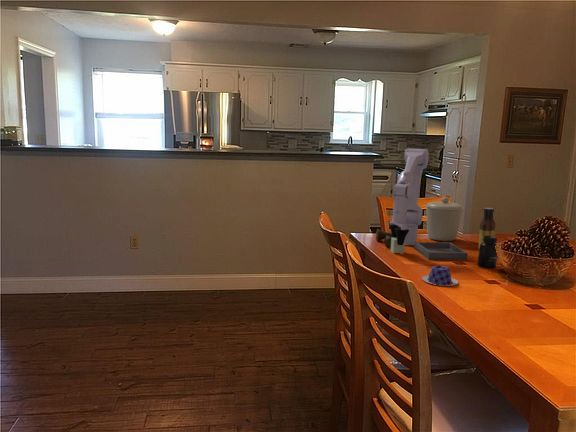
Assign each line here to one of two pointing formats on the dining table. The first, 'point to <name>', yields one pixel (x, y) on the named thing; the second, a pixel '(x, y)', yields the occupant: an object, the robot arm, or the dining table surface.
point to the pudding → (440, 276)
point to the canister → (443, 219)
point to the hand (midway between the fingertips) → (397, 242)
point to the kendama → (384, 237)
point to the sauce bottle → (487, 225)
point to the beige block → (396, 246)
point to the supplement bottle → (488, 253)
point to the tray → (440, 251)
